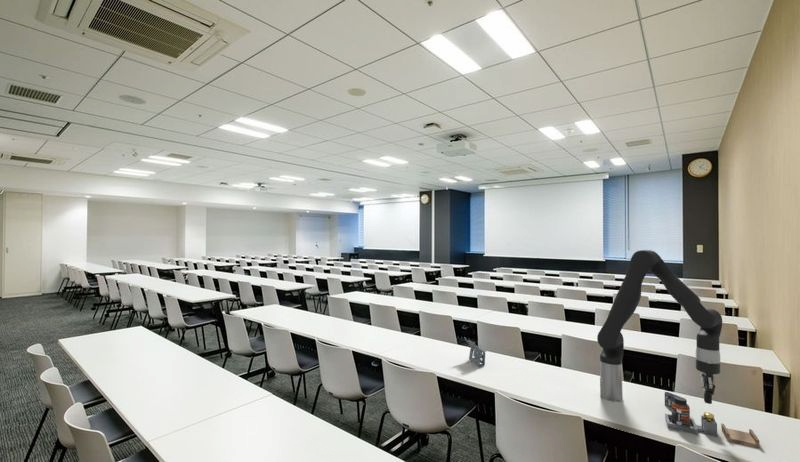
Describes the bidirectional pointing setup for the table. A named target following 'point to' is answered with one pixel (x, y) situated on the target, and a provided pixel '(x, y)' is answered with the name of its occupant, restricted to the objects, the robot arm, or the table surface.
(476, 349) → the bracket
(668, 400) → the mini dv tape
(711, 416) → the brass knob
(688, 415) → the supplement bottle
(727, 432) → the brown curved tray
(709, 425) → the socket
